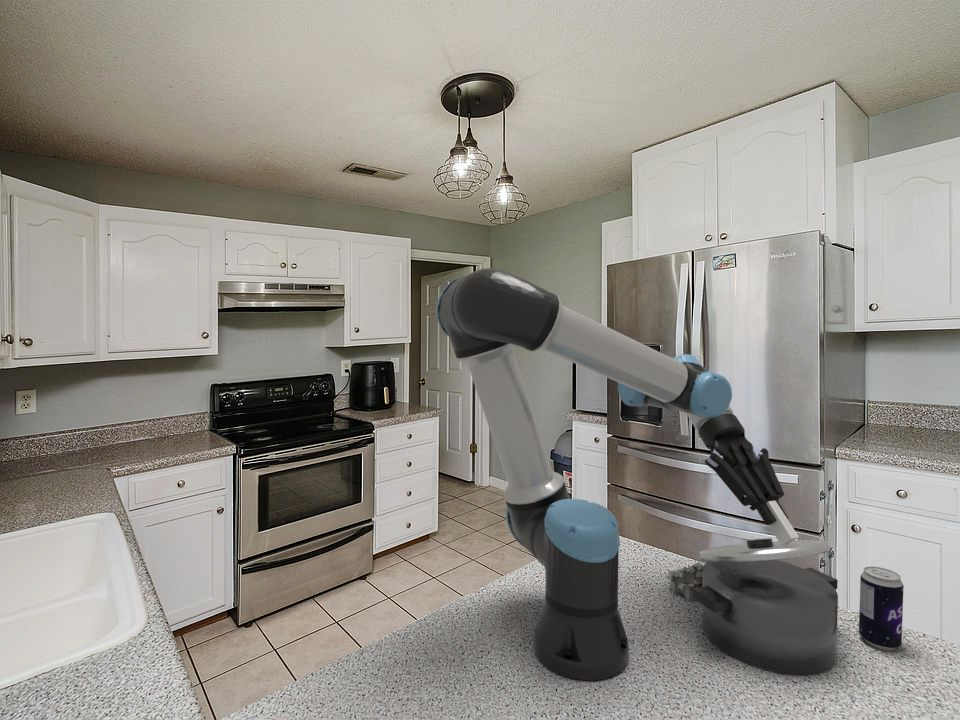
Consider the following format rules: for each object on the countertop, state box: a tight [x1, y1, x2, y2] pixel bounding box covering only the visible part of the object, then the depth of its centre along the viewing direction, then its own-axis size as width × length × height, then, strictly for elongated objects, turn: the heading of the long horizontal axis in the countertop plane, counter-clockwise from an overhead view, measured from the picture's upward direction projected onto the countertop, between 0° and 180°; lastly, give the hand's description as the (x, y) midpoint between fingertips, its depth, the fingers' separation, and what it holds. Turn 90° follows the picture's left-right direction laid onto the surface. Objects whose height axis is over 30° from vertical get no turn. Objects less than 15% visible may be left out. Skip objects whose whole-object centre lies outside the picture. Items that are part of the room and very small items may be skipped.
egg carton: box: [666, 561, 704, 602], centre depth 105 cm, size 11×8×4 cm
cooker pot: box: [693, 559, 839, 676], centre depth 88 cm, size 26×20×10 cm
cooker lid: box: [698, 537, 831, 562], centre depth 89 cm, size 20×20×2 cm
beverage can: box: [858, 566, 905, 651], centre depth 86 cm, size 6×6×12 cm
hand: (789, 541), depth 84 cm, fingers closed
